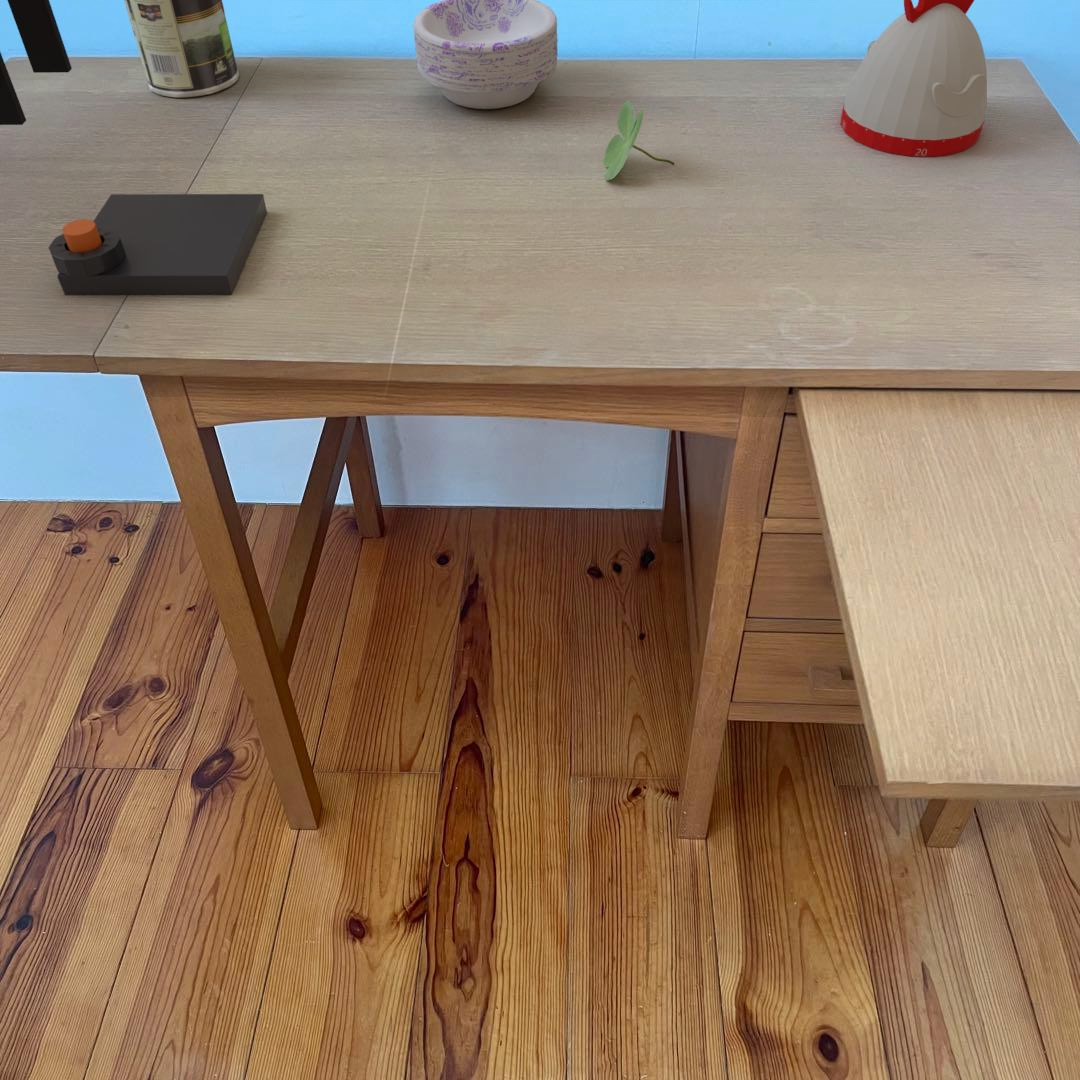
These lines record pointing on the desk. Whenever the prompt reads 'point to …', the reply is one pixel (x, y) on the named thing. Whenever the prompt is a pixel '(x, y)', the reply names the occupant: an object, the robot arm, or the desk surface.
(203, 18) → the coffee can
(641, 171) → the desk surface
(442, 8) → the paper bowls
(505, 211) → the desk surface
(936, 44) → the kitchen timer
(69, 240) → the button
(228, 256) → the scale
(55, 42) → the robot arm
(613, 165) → the seedling
